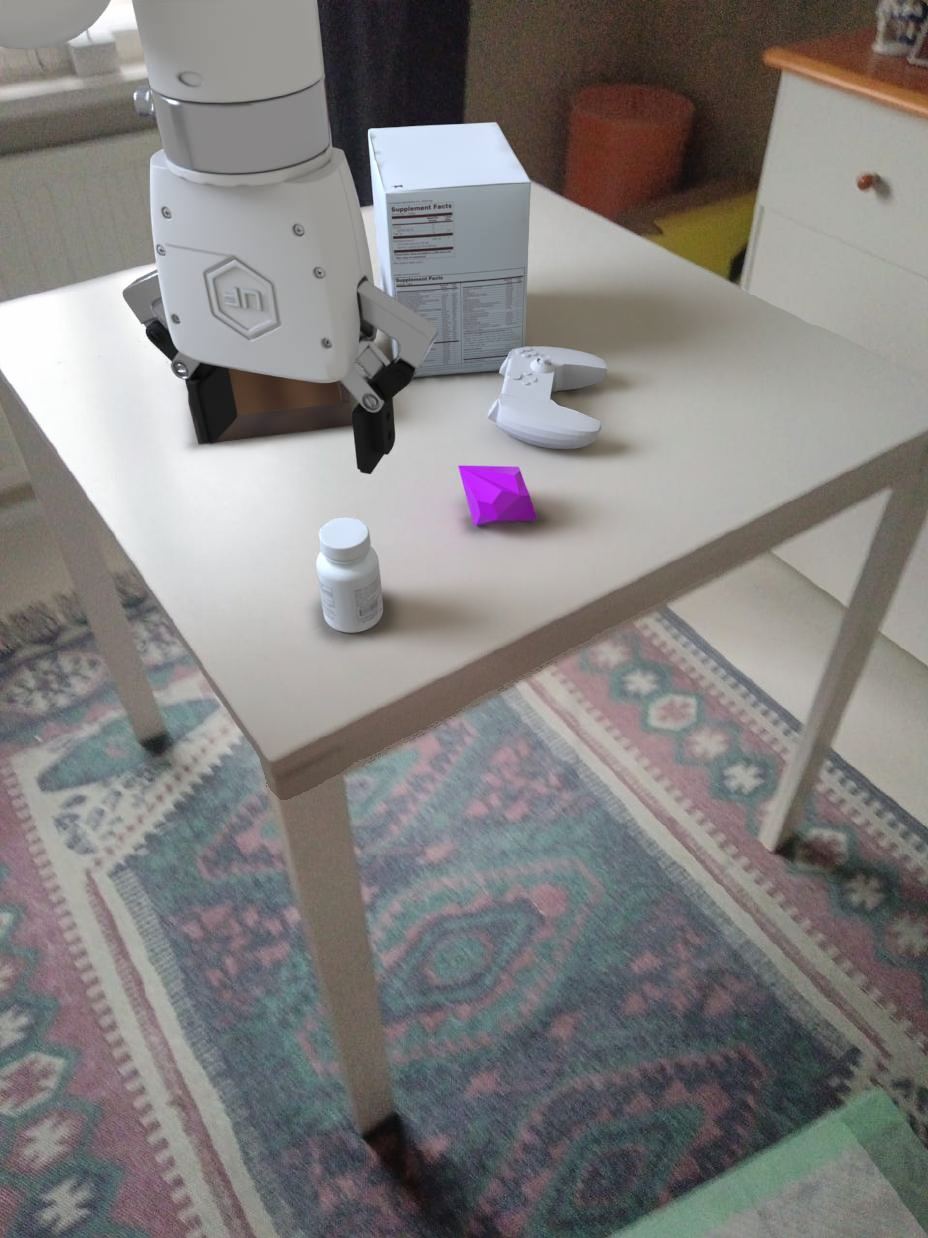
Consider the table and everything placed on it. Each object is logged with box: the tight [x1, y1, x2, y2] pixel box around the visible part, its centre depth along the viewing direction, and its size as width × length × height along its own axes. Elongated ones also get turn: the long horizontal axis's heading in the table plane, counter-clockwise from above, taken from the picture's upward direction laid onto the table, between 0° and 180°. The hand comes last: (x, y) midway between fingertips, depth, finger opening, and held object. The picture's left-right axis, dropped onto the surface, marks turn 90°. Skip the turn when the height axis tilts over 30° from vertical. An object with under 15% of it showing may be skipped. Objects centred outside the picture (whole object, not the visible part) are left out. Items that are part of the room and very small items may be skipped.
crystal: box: [457, 465, 539, 527], centre depth 79 cm, size 5×5×5 cm
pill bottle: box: [315, 516, 384, 634], centre depth 69 cm, size 4×4×8 cm
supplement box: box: [367, 121, 532, 378], centre depth 96 cm, size 17×13×18 cm
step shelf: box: [187, 368, 353, 445], centre depth 91 cm, size 14×16×11 cm
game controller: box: [486, 345, 608, 450], centre depth 90 cm, size 14×4×10 cm
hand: (295, 444), depth 56 cm, fingers open, 9 cm apart
